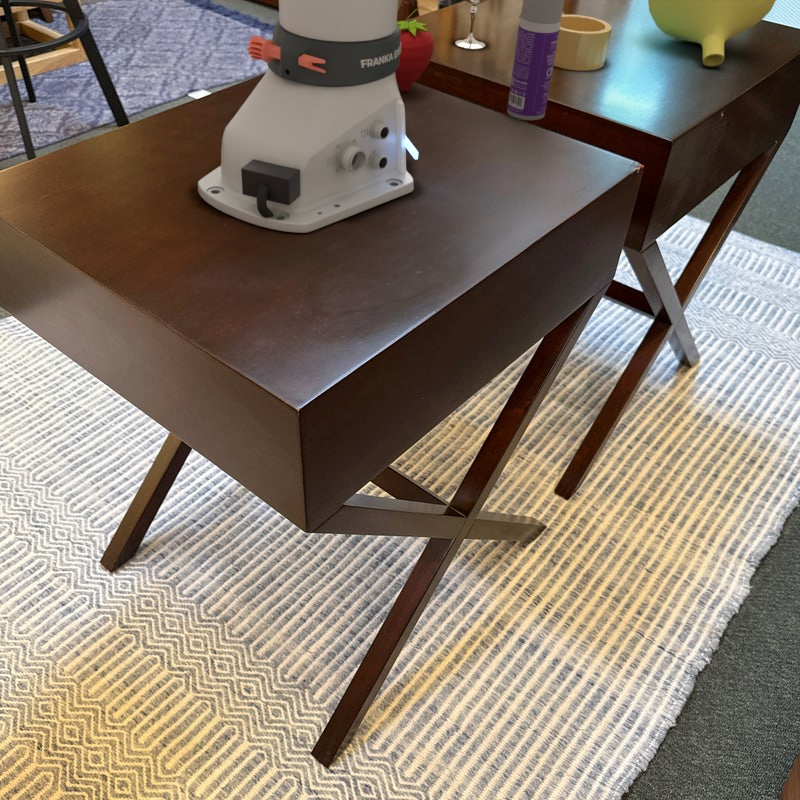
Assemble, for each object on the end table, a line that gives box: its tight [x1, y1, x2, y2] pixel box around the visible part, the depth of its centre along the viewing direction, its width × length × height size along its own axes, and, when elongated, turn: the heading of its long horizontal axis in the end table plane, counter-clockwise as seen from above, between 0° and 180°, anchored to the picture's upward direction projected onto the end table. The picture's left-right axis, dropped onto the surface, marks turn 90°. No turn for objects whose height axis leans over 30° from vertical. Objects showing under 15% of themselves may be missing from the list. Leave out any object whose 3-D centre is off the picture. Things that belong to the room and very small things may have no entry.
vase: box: [647, 0, 777, 67], centre depth 124 cm, size 18×18×19 cm
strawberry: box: [395, 8, 435, 92], centre depth 104 cm, size 6×8×10 cm
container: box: [506, 0, 564, 121], centre depth 99 cm, size 5×5×15 cm
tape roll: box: [553, 14, 613, 72], centre depth 120 cm, size 9×9×5 cm
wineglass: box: [454, 0, 489, 50], centre depth 120 cm, size 6×6×12 cm
